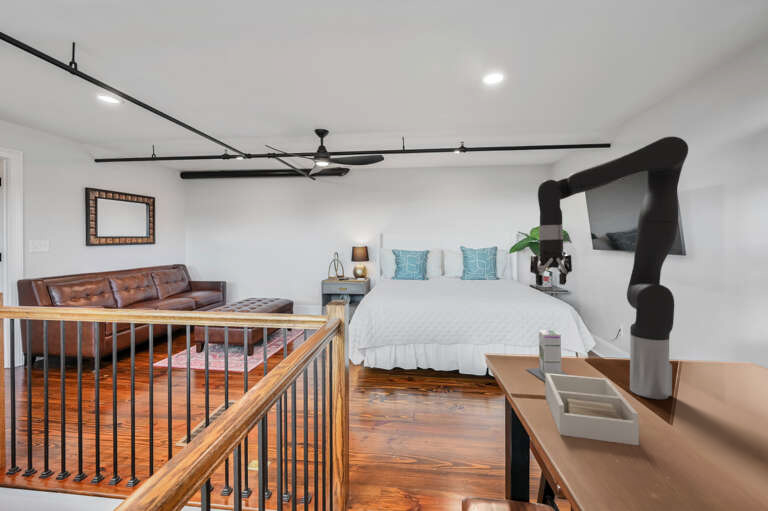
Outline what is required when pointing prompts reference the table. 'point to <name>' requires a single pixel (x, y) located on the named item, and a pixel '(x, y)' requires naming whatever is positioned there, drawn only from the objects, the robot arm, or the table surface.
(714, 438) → the table surface
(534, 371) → the rubber mat
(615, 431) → the white divided tray
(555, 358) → the syrup box
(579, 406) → the offcut stack
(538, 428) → the table surface
